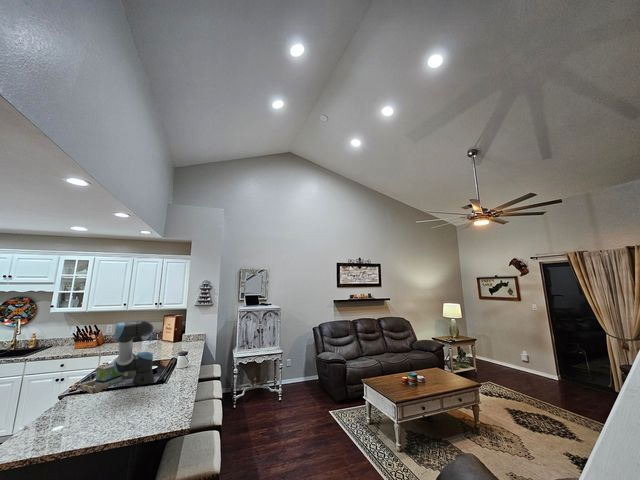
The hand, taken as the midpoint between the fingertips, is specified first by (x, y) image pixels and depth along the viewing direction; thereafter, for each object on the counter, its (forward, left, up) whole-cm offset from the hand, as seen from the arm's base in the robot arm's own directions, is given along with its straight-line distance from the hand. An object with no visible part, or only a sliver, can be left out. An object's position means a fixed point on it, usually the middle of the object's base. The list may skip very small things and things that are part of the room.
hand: (125, 375), depth 241 cm
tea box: (0, +13, -2) cm, 13 cm away
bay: (-1, +25, -2) cm, 25 cm away
